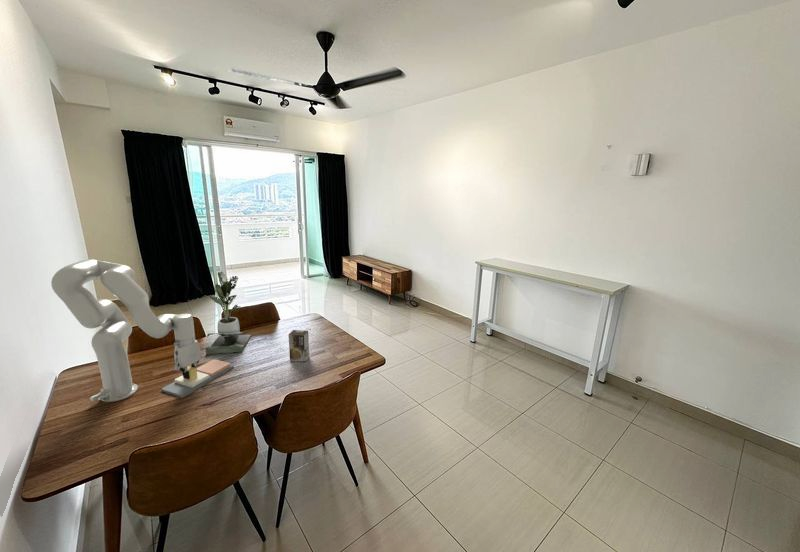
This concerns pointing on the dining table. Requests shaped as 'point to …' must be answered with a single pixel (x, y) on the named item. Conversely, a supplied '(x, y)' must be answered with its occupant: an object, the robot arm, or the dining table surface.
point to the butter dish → (192, 378)
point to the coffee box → (299, 345)
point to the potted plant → (227, 322)
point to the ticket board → (210, 368)
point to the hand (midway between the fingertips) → (190, 376)
